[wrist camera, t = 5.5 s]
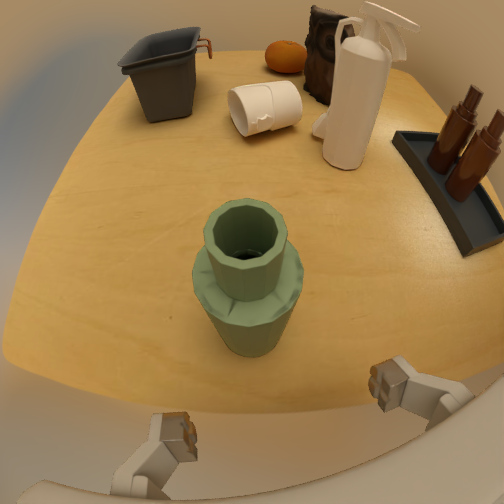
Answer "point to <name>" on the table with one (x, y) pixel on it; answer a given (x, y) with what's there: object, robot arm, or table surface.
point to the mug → (264, 106)
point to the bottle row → (477, 152)
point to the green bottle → (248, 275)
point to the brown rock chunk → (322, 52)
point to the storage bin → (164, 72)
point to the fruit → (286, 56)
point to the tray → (453, 212)
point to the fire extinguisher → (359, 84)
